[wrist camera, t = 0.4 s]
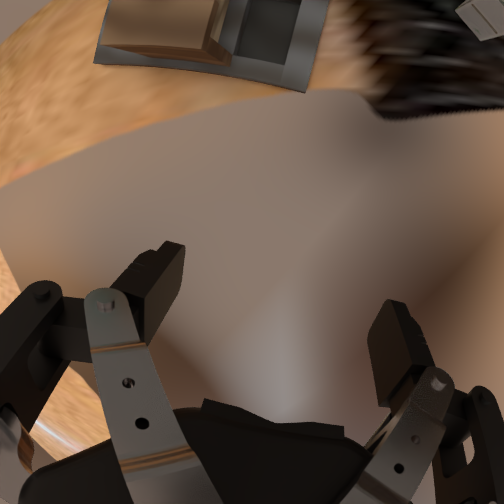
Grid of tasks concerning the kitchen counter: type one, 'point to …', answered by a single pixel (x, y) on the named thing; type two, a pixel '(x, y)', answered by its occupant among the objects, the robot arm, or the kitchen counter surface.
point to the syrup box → (483, 17)
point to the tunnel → (230, 41)
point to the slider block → (219, 19)
